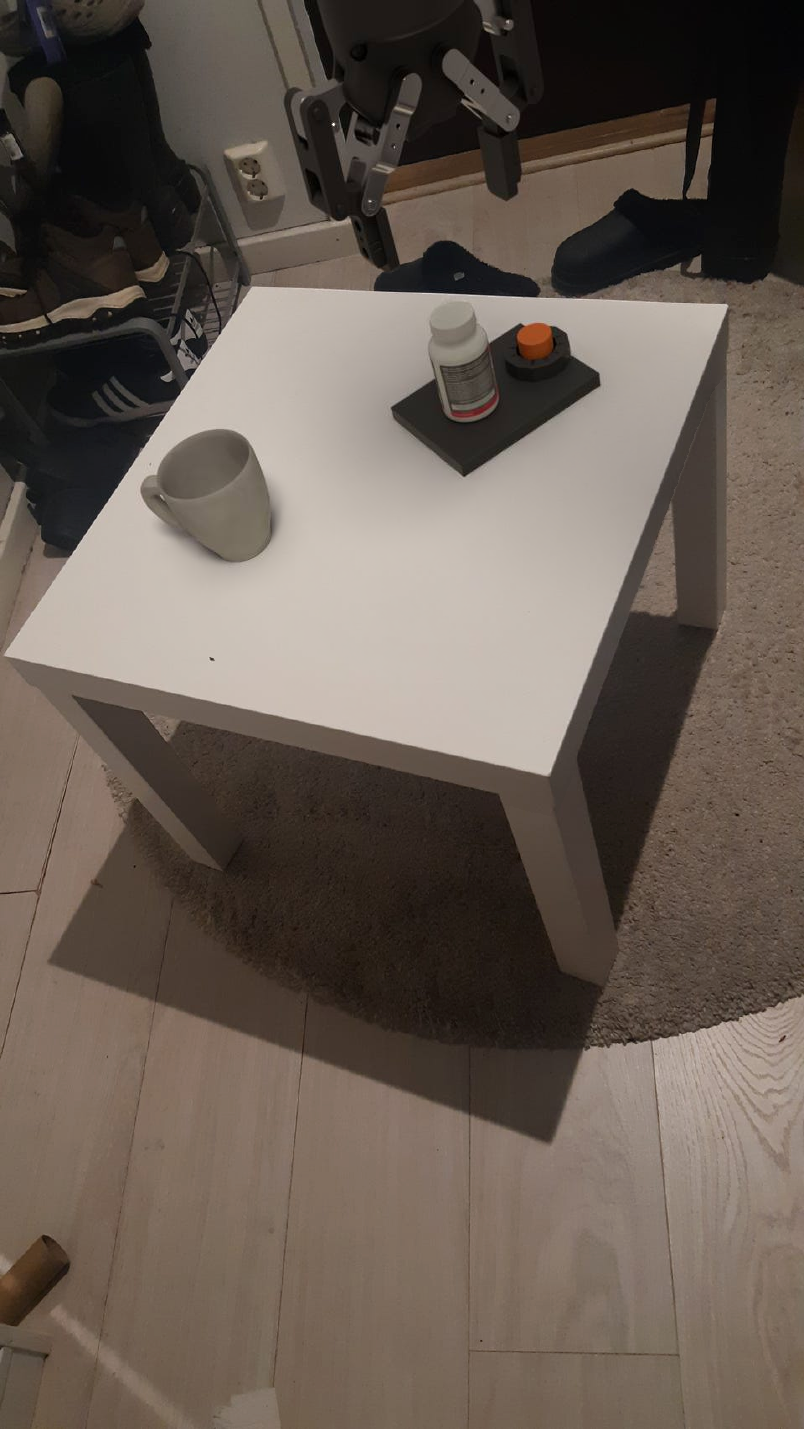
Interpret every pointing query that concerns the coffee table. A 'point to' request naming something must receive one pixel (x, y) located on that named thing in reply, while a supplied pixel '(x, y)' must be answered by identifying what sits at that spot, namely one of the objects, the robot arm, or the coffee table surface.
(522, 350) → the button
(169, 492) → the mug
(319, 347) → the coffee table surface
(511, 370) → the scale
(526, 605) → the coffee table surface
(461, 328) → the pill bottle
